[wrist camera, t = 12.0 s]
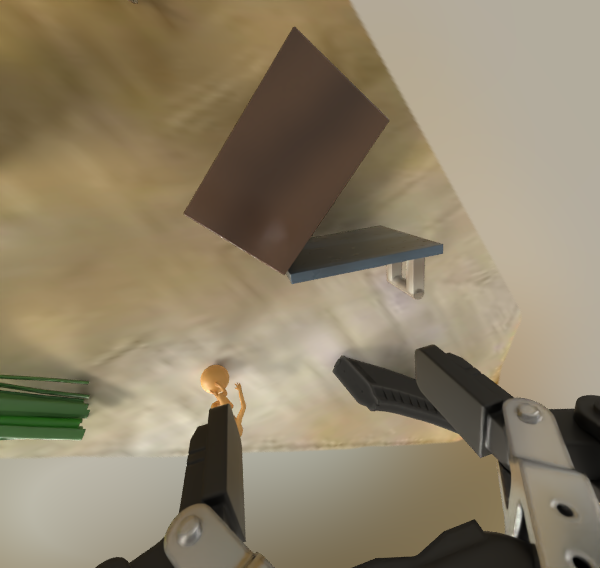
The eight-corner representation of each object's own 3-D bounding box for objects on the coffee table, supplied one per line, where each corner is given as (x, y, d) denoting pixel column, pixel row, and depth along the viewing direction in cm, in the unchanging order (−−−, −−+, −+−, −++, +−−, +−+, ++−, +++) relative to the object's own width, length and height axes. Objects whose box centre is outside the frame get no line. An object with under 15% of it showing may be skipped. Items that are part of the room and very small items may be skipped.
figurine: (217, 344, 43) (213, 400, 32) (253, 359, 45) (260, 417, 34) (189, 387, 45) (176, 455, 34) (225, 400, 47) (224, 468, 36)
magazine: (334, 400, 40) (524, 493, 41) (346, 380, 39) (538, 476, 41) (328, 347, 57) (463, 415, 58) (336, 333, 56) (472, 402, 57)
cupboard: (335, 140, 38) (390, 120, 25) (267, 245, 40) (284, 275, 27) (270, 84, 34) (294, 25, 21) (199, 202, 37) (182, 214, 24)
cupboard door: (381, 266, 45) (441, 299, 32) (278, 287, 42) (299, 332, 30) (380, 225, 43) (443, 244, 30) (271, 244, 40) (290, 274, 27)
